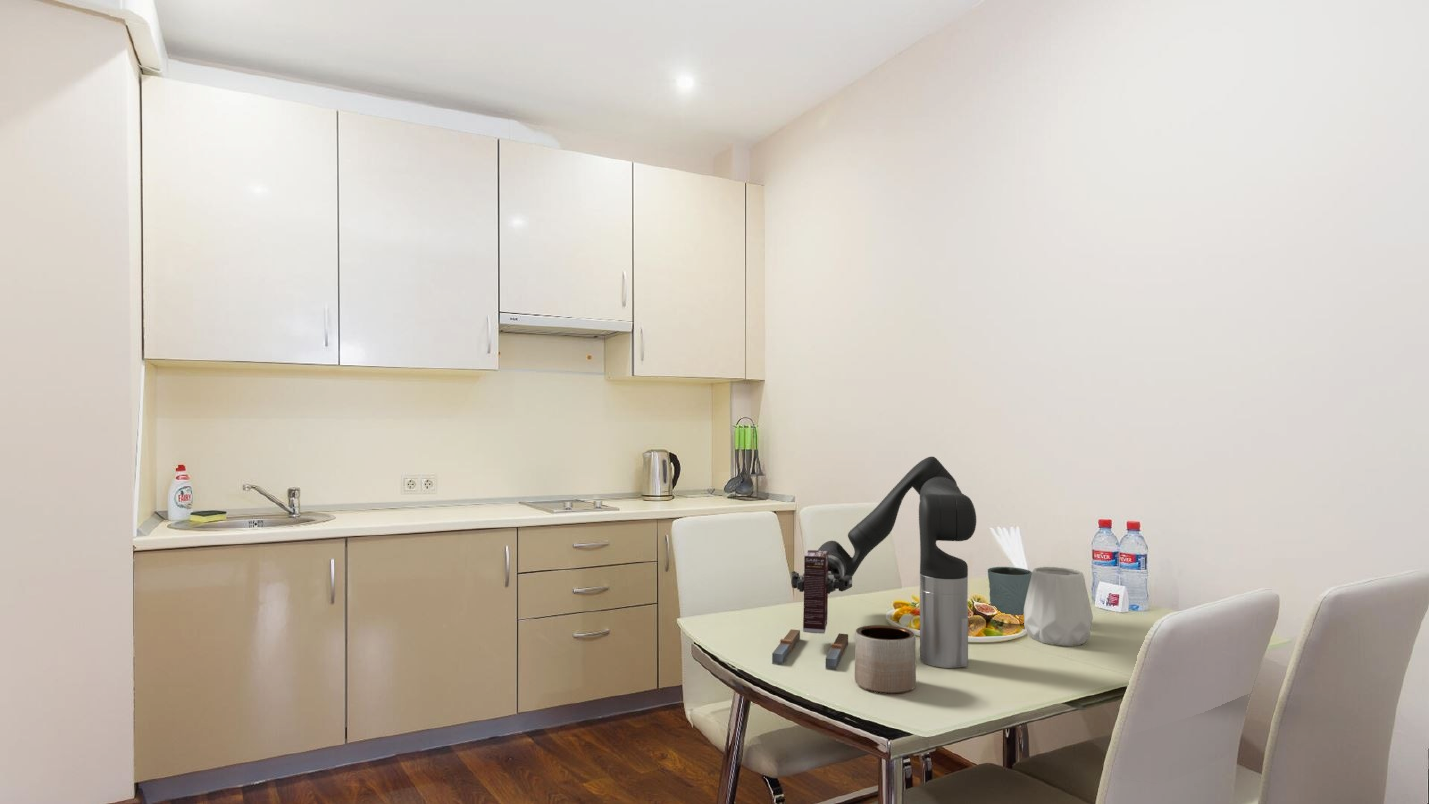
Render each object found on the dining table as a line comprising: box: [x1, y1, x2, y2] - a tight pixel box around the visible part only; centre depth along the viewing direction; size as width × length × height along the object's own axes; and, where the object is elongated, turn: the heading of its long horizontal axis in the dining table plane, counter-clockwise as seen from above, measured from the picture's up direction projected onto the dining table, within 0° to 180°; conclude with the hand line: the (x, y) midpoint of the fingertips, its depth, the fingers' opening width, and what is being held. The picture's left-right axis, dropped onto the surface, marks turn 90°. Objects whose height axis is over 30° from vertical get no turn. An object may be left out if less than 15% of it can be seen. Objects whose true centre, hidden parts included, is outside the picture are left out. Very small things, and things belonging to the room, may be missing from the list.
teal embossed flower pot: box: [987, 566, 1033, 615], centre depth 193 cm, size 10×10×12 cm
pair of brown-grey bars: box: [771, 629, 849, 671], centre depth 164 cm, size 12×19×3 cm, turn 163°
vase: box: [1023, 566, 1094, 647], centre depth 176 cm, size 14×14×15 cm
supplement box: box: [802, 549, 829, 635], centre depth 170 cm, size 9×5×16 cm, turn 168°
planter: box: [854, 624, 917, 695], centre depth 145 cm, size 11×11×10 cm
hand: (814, 587), depth 167 cm, fingers closed on supplement box, 5 cm apart
